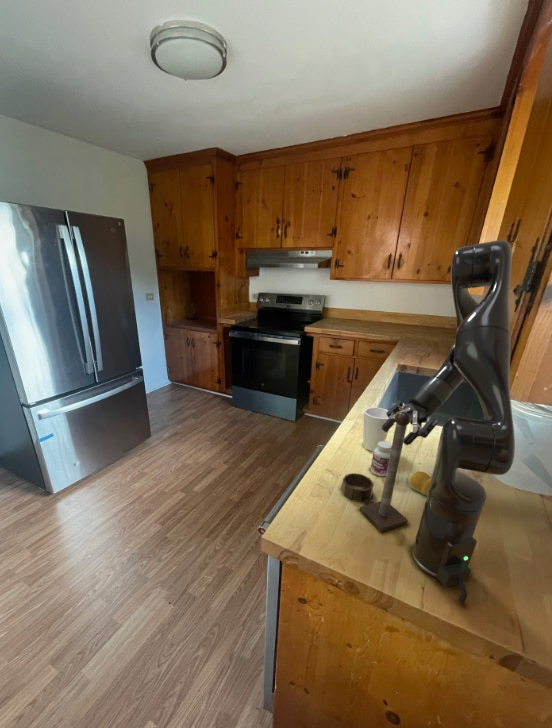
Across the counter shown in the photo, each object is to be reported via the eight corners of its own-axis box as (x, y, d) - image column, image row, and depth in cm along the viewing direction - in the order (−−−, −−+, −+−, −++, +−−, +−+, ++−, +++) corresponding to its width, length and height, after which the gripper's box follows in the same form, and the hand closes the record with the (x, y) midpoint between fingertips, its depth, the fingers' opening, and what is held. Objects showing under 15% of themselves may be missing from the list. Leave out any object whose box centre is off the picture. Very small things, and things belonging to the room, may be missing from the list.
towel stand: (407, 523, 81) (433, 417, 70) (380, 532, 78) (403, 422, 67) (359, 481, 97) (374, 388, 86) (336, 486, 94) (348, 392, 83)
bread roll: (436, 502, 88) (439, 490, 87) (403, 486, 94) (406, 474, 93) (448, 489, 93) (451, 478, 92) (416, 475, 99) (419, 464, 98)
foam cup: (353, 442, 118) (358, 409, 113) (375, 438, 121) (381, 406, 116) (369, 455, 110) (375, 420, 105) (392, 451, 112) (399, 417, 107)
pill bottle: (368, 473, 100) (373, 445, 97) (372, 465, 104) (377, 438, 101) (387, 478, 98) (392, 450, 94) (390, 470, 102) (395, 443, 98)
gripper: (407, 381, 101) (371, 420, 102) (447, 397, 89) (406, 441, 90) (417, 395, 105) (382, 432, 106) (457, 412, 93) (417, 454, 93)
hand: (393, 436), depth 98 cm, fingers open, 8 cm apart
